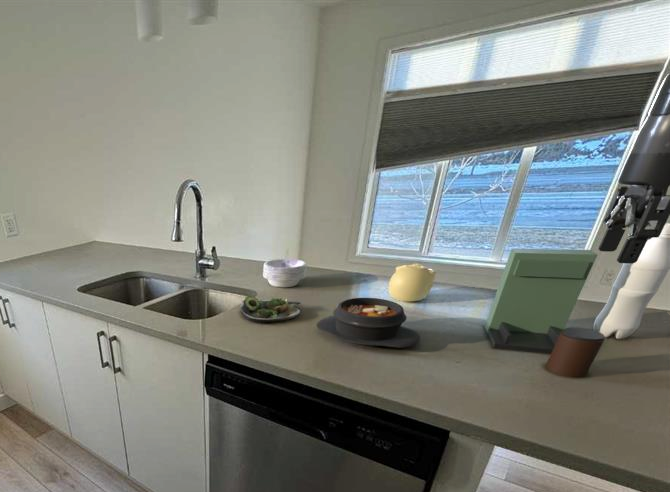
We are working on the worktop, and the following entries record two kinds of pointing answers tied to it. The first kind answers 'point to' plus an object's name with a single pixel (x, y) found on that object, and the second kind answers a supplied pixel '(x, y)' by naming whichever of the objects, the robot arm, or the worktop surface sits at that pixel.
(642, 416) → the worktop surface
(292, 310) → the salad plate
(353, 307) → the casserole
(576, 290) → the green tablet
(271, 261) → the paper bowls
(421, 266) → the pale yellow rounded lump
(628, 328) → the water bottle
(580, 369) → the brown cylinder canister
